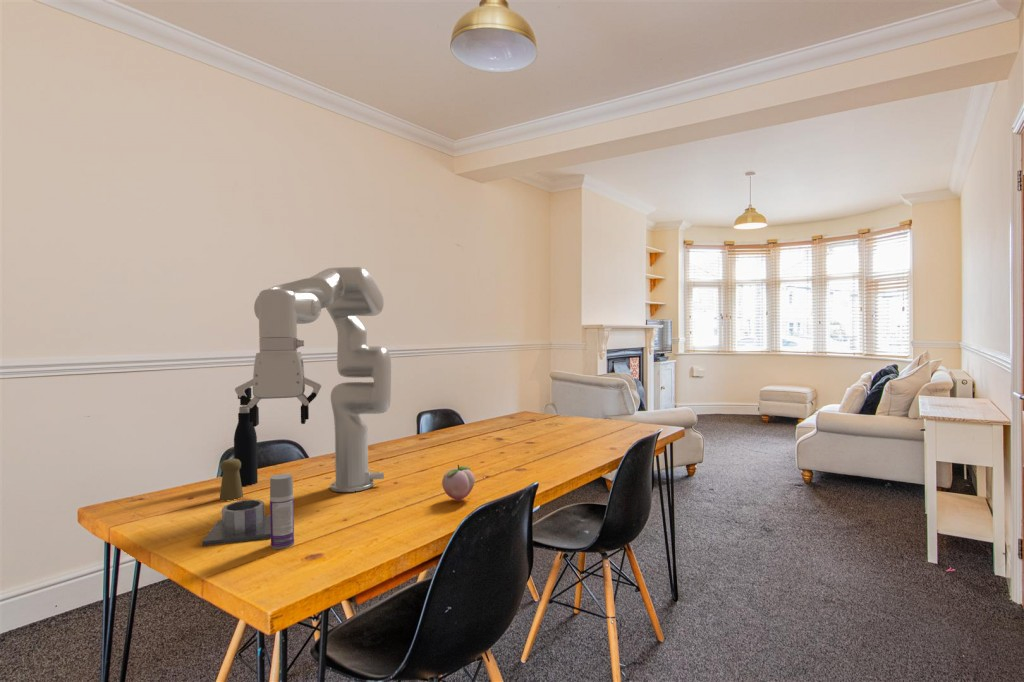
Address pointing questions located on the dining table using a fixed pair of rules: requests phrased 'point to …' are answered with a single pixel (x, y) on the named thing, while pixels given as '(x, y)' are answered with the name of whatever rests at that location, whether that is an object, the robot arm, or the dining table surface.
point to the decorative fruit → (458, 482)
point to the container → (281, 511)
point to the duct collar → (240, 524)
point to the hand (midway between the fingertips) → (279, 424)
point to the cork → (231, 480)
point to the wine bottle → (246, 445)
